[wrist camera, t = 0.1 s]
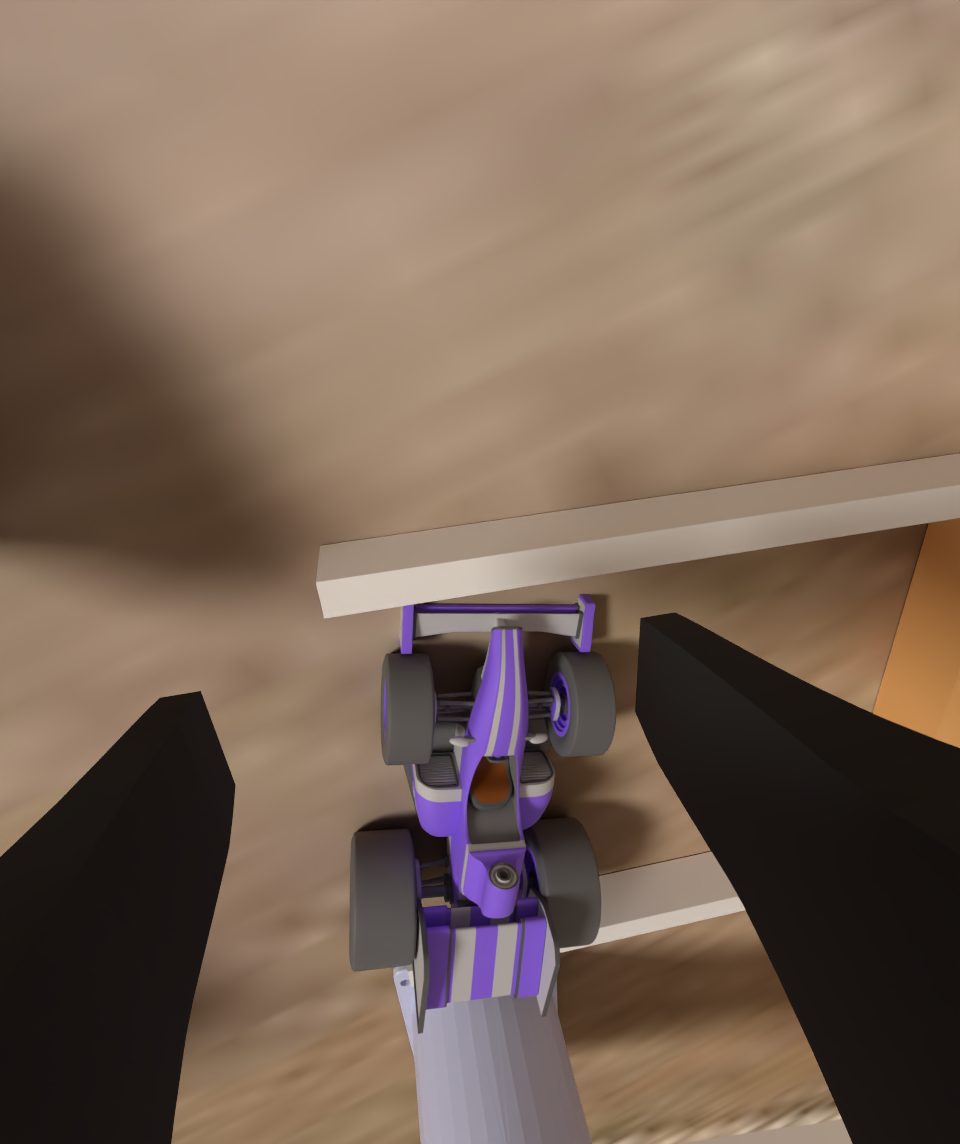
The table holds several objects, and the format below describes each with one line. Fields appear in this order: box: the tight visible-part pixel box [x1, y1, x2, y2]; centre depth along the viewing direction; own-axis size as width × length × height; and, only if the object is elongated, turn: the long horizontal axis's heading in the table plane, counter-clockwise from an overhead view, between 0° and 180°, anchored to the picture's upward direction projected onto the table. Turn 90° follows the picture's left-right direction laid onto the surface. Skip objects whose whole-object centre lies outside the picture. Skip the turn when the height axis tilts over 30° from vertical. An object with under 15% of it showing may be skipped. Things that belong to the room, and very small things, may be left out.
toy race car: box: [349, 594, 616, 1034], centre depth 22 cm, size 10×15×6 cm, turn 173°
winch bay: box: [316, 453, 960, 987], centre depth 23 cm, size 20×27×6 cm
